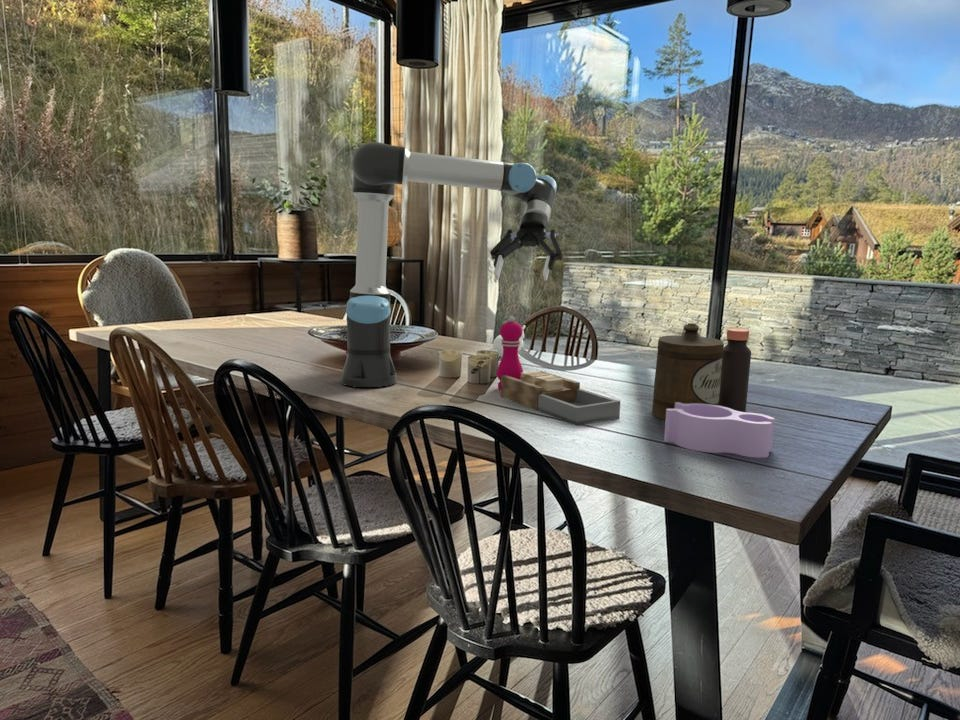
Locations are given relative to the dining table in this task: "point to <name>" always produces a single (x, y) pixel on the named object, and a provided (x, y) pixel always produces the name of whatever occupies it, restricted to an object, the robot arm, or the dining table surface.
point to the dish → (581, 408)
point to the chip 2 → (549, 382)
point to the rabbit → (499, 347)
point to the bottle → (735, 370)
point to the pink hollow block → (719, 429)
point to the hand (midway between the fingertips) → (520, 277)
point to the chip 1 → (531, 376)
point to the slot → (536, 391)
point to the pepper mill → (510, 350)
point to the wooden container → (687, 370)
